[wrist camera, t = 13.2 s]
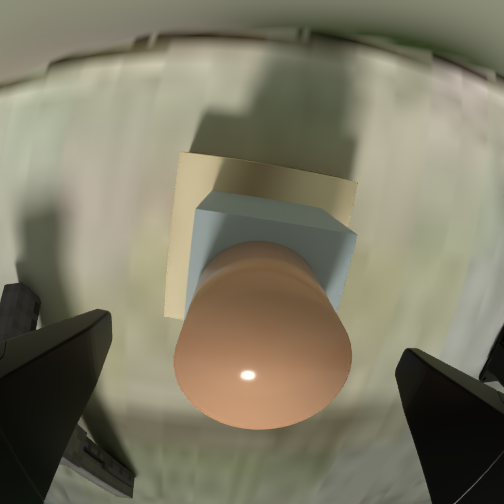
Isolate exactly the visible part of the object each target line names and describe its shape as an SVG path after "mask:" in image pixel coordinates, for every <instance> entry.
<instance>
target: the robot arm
mask: <svg viewBox="0 0 504 504" xmlns="http://www.w3.org/2000/svg"><path fill="white" fill-rule="evenodd" d="M111 342H112V318H111V313H110V312H109V311H106V310H101V309H95V310H92V311H89V312H87V313H84V314H81V315H78V316H75V317H72V318H69V319H66V320H64V321H61V322H58V323H55V324H52V325H49V326H46V327H43V328H41V329H38V330H35V331H32V332H29V333H26V334H23V335H20V336H17V337H15V338H12V339H9V340H7V342H6V341H3V342H0V504H43V503H44V501H43V500H45V498H46V495H47V493H48V490H49V488H50V485H51V483H52V480H53V478H54V475H55V473H56V471H57V468H58V466H59V463H60V461H61V459H62V457H63V454H64V452H65V450H66V447H67V445H68V443H69V441H70V438H71V436H72V434H73V432H74V430H75V428H76V425H77V423H78V421H79V419H80V417H81V415H82V413H83V411H84V408H85V406H86V404H87V402H88V400H89V398H90V396H91V394H92V392H93V390H94V388H95V386H96V384H97V381H98V378H99V376H100V373H101V370H102V367H103V364H104V362H105V359H106V356H107V353H108V351H109V348H110V345H111ZM395 377H396V381H397V385H398V389H399V393H400V397H401V401H402V405H403V409H404V413H405V416H406V420H407V422H408V425H409V428H410V431H411V434H412V437H413V440H414V444H415V447H416V450H417V453H418V456H419V459H420V463H421V466H422V469H423V473H424V476H425V480H426V483H427V487H428V490H429V494H430V498H431V501H432V504H504V394H503V393H502V392H500V391H497V390H496V389H494V388H492V387H490V386H488V385H486V384H484V383H485V382H492V381H498V382H499V383H500V384H501V385H502V386H503V387H504V328H503V330H502V332H501V335H500V337H499V339H498V341H497V343H496V345H495V348H494V350H493V352H492V354H491V356H490V358H489V360H488V362H487V364H486V366H485V367H484V369H483V371H482V373H481V375H480V377H479V380H477V379H475V378H473V377H471V376H469V375H467V374H465V373H463V372H461V371H459V370H458V369H456V368H454V367H452V366H450V365H448V364H446V363H444V362H442V361H440V360H439V359H437V358H435V357H433V356H431V355H429V354H427V353H425V352H423V351H422V350H420V349H417V348H407V349H405V350H404V352H403V354H402V356H401V359H400V361H399V363H398V365H397V367H396V371H395Z"/></svg>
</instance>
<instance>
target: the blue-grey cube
mask: <svg viewBox="0 0 504 504" xmlns="http://www.w3.org/2000/svg"><path fill="white" fill-rule="evenodd" d="M356 238H357V234H356V233H354V232H353V231H352V230H350V229H349V228H348V227H346V226H345V225H344V224H342V223H341V222H340V221H338V220H337V219H335V218H334V217H333V216H331V215H330V214H329V213H327V212H326V211H324V210H323V209H322V208H318V207H313V206H307V205H302V204H296V203H290V202H284V201H278V200H272V199H266V198H260V197H254V196H247V195H241V194H234V193H227V192H220V191H213V190H212V191H211V192H210V193H209V194H208V195H207V196H206V197H205V199H204V200H203V201H202V202H201V203H200V204H199V205H198V206H197V208H196V209H195V215H194V224H193V232H192V241H191V250H190V259H189V269H188V279H187V290H186V302H185V314H184V321H185V318H186V315H187V312H188V309H189V306H190V303H191V300H192V297H193V294H194V291H195V288H196V285H197V282H198V280H199V277H200V275H201V273H202V271H203V270H204V268H205V267H206V265H207V264H208V263H209V262H210V261H211V260H212V259H213V258H214V257H215V256H216V255H217V254H219V253H220V252H222V251H223V250H225V249H227V248H229V247H231V246H233V245H236V244H239V243H243V242H249V241H268V242H274V243H277V244H281V245H283V246H286V247H288V248H290V249H291V250H293V251H295V252H296V253H298V254H299V255H300V256H301V257H302V258H303V259H304V260H305V261H306V262H307V263H308V264H309V266H310V267H311V269H312V270H313V272H314V274H315V276H316V277H317V279H318V281H319V283H320V284H321V286H322V288H323V290H324V292H325V293H326V295H327V297H328V299H329V301H330V302H331V304H332V306H333V308H334V310H335V312H336V313H337V310H338V306H339V303H340V300H341V296H342V292H343V289H344V285H345V282H346V278H347V274H348V270H349V267H350V263H351V259H352V255H353V251H354V247H355V243H356Z"/></svg>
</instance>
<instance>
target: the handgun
mask: <svg viewBox="0 0 504 504" xmlns="http://www.w3.org/2000/svg"><path fill="white" fill-rule="evenodd" d="M40 304H41V302H40V299H39V297H38V296H36V295H35V294H34V293H33V292H32V291H31V290H29V289H28V288H27V287H26V286H25V285H24V284H22V283H15V284H7V285H5V286H4V290H3V294H2V297H1V301H0V342H3V341H6V342H7V340H9V339H12V338H15V337H17V336H20V335H23V334H26V333H29V332H32V331H35V330H36V326H37V320H38V315H39V310H40ZM86 435H87V432H86V431H84V430H83V429H82V428H81V427H80V426H79V425H78V424H77V425H76V428H75V430H74V432H73V434H72V436H71V438H70V441H69V443H68V445H67V447H66V450H65V452H64V454H63V457H62V459H61V461H60V463H59V464H61V465H66V466H68V467H69V468H71V469H72V470H74V471H75V472H77V473H78V474H80V475H81V476H83V477H84V478H86V479H88V480H89V481H91V482H93V483H94V484H96V485H98V486H99V487H101V488H103V489H104V490H106V491H108V492H110V493H112V494H113V495H115V496H118V497H124V498H132V497H133V487H134V478H135V476H134V475H133V473H132V472H130V471H129V470H128V469H126V468H125V467H124V466H122V465H121V464H120V463H118V462H117V461H116V460H115V459H113V458H112V457H111V456H109V455H108V454H107V453H106V452H105V451H103V450H102V449H101V448H100V447H99V446H97V445H96V444H95V443H94V442H93V441H91V440H90V439H89V438H88V437H87V436H86Z"/></svg>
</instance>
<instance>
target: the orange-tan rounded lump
mask: <svg viewBox="0 0 504 504" xmlns="http://www.w3.org/2000/svg"><path fill="white" fill-rule="evenodd" d="M351 363H352V350H351V343H350V340H349V337H348V334H347V332H346V330H345V328H344V326H343V324H342V323H341V321H340V319H339V317H338V315H337V313H336V312H335V310H334V308H333V306H332V304H331V302H330V301H329V299H328V297H327V295H326V293H325V292H324V290H323V288H322V286H321V284H320V283H319V281H318V279H317V277H316V276H315V274H314V272H313V270H312V269H311V267H310V266H309V264H308V263H307V262H306V261H305V260H304V259H303V258H302V257H301V256H300V255H299V254H298V253H296V252H295V251H293V250H291V249H290V248H288V247H286V246H283V245H281V244H277V243H274V242H268V241H249V242H243V243H239V244H236V245H233V246H231V247H229V248H227V249H225V250H223V251H222V252H220V253H219V254H217V255H216V256H215V257H214V258H213V259H212V260H211V261H210V262H209V263H208V264H207V265H206V267H205V268H204V270H203V271H202V273H201V275H200V277H199V280H198V282H197V285H196V288H195V291H194V294H193V297H192V300H191V303H190V306H189V309H188V312H187V315H186V318H185V321H184V324H183V327H182V330H181V333H180V336H179V339H178V342H177V345H176V348H175V354H174V370H175V376H176V379H177V382H178V384H179V386H180V388H181V390H182V392H183V393H184V395H185V396H186V397H187V399H188V400H189V401H190V402H191V403H192V404H193V405H194V406H195V407H196V408H197V409H199V410H200V411H201V412H202V413H204V414H206V415H207V416H209V417H211V418H213V419H215V420H217V421H219V422H222V423H224V424H227V425H231V426H234V427H239V428H245V429H273V428H279V427H284V426H288V425H291V424H295V423H298V422H300V421H302V420H305V419H307V418H309V417H311V416H312V415H314V414H316V413H317V412H319V411H320V410H322V409H323V408H324V407H325V406H327V405H328V404H329V403H330V402H331V401H332V400H333V399H334V398H335V397H336V396H337V394H338V393H339V392H340V390H341V389H342V387H343V386H344V384H345V382H346V380H347V377H348V375H349V372H350V368H351Z"/></svg>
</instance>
